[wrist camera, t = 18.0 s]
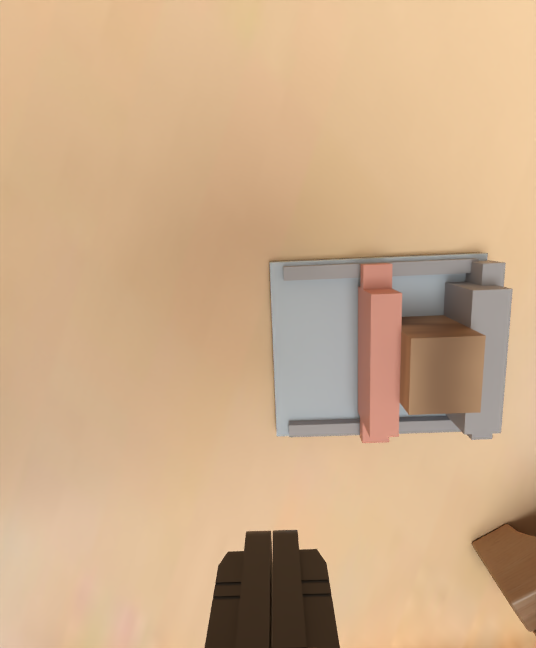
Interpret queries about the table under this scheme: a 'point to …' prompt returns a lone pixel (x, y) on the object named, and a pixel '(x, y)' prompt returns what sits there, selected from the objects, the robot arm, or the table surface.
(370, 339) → the bar
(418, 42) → the table surface
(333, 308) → the vise base
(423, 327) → the walnut block
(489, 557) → the wooden toy
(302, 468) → the table surface
